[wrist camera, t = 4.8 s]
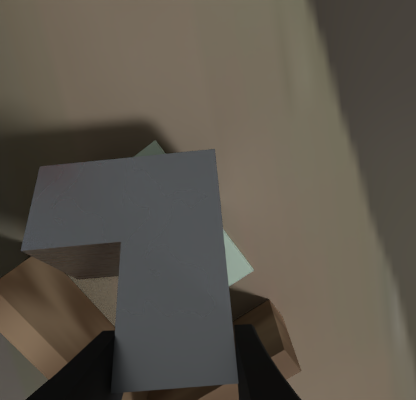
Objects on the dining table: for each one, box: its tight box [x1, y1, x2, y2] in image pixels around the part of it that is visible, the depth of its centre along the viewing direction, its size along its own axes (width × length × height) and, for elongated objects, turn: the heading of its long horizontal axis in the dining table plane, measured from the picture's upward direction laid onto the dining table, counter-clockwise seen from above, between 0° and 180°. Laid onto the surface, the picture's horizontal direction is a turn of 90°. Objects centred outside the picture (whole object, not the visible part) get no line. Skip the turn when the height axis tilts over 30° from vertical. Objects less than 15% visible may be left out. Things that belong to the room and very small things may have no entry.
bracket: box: [21, 149, 239, 393], centre depth 14 cm, size 9×8×5 cm
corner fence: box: [0, 256, 301, 400], centre depth 17 cm, size 13×11×4 cm
